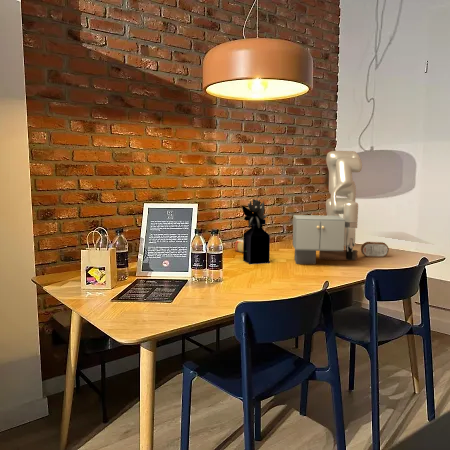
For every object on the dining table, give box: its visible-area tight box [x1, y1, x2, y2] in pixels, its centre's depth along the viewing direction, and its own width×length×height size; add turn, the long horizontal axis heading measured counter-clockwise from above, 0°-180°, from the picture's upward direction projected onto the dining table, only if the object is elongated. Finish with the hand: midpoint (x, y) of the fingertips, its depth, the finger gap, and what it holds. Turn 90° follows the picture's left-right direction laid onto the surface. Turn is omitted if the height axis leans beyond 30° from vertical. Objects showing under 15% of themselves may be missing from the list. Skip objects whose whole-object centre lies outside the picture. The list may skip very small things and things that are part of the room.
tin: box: [360, 241, 390, 258], centre depth 244 cm, size 15×3×8 cm, turn 84°
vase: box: [241, 195, 271, 265], centre depth 225 cm, size 14×12×35 cm
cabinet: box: [292, 214, 345, 265], centre depth 225 cm, size 20×24×24 cm
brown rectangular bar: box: [318, 249, 358, 261], centre depth 236 cm, size 2×20×5 cm, turn 86°
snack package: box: [234, 239, 244, 253], centre depth 250 cm, size 23×7×7 cm, turn 42°
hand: (348, 258), depth 235 cm, fingers closed on brown rectangular bar, 2 cm apart
